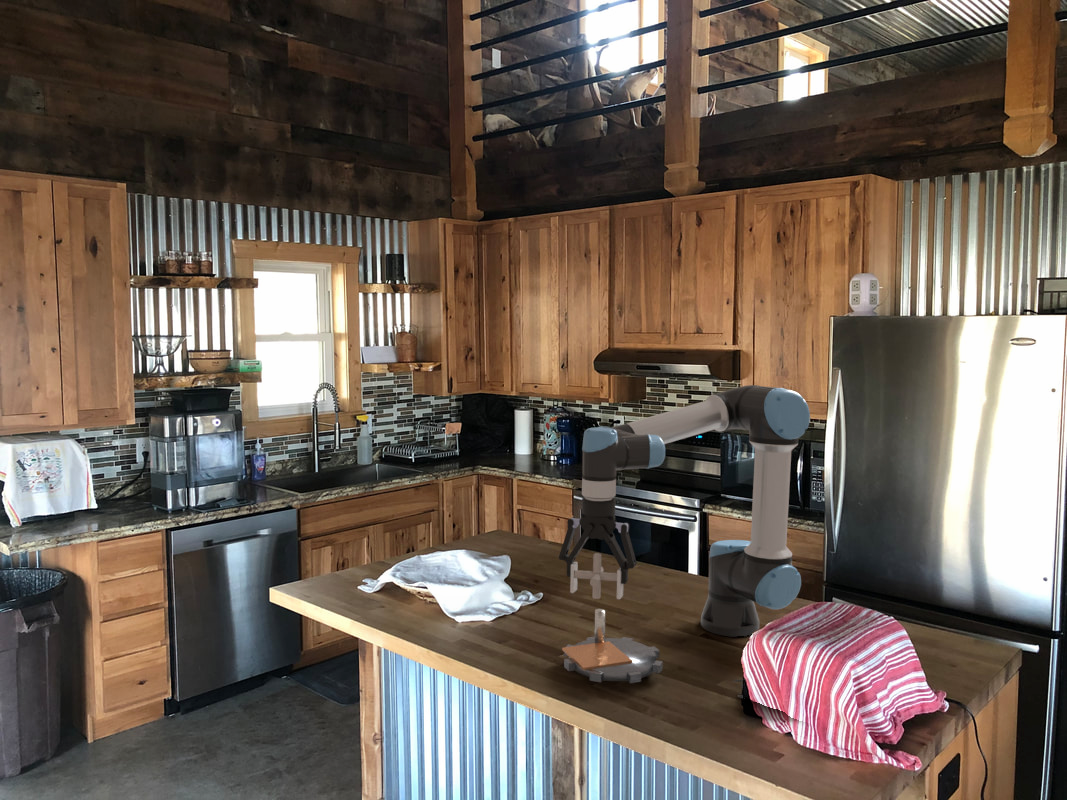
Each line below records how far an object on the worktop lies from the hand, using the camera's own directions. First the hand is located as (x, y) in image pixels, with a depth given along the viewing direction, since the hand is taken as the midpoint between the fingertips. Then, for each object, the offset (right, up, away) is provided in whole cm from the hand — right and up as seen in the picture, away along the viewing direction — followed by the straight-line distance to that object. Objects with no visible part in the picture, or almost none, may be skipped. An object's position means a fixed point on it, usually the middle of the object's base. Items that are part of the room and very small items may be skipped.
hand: (596, 594), depth 192 cm
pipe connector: (0, -1, 0) cm, 1 cm away
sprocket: (+4, -17, +4) cm, 18 cm away
